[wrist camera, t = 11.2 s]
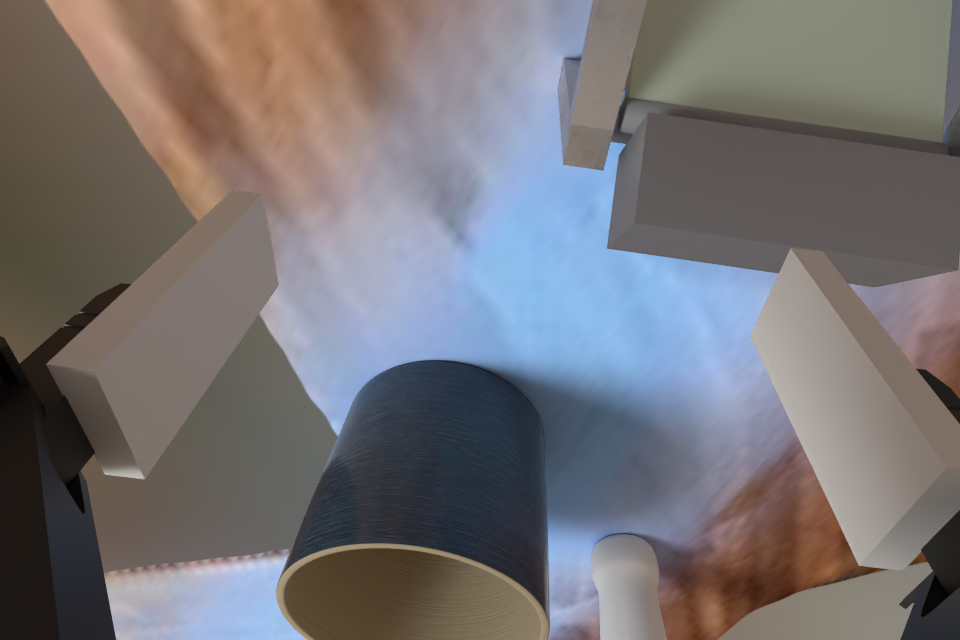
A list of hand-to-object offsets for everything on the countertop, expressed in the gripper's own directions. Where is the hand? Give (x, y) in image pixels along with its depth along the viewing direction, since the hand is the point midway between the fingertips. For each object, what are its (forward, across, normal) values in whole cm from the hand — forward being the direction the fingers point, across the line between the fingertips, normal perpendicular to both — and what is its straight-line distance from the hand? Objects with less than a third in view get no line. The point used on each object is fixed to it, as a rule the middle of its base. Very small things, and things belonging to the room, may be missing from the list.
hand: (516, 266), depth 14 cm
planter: (+29, -5, -40) cm, 49 cm away
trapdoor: (+20, +12, +1) cm, 24 cm away
